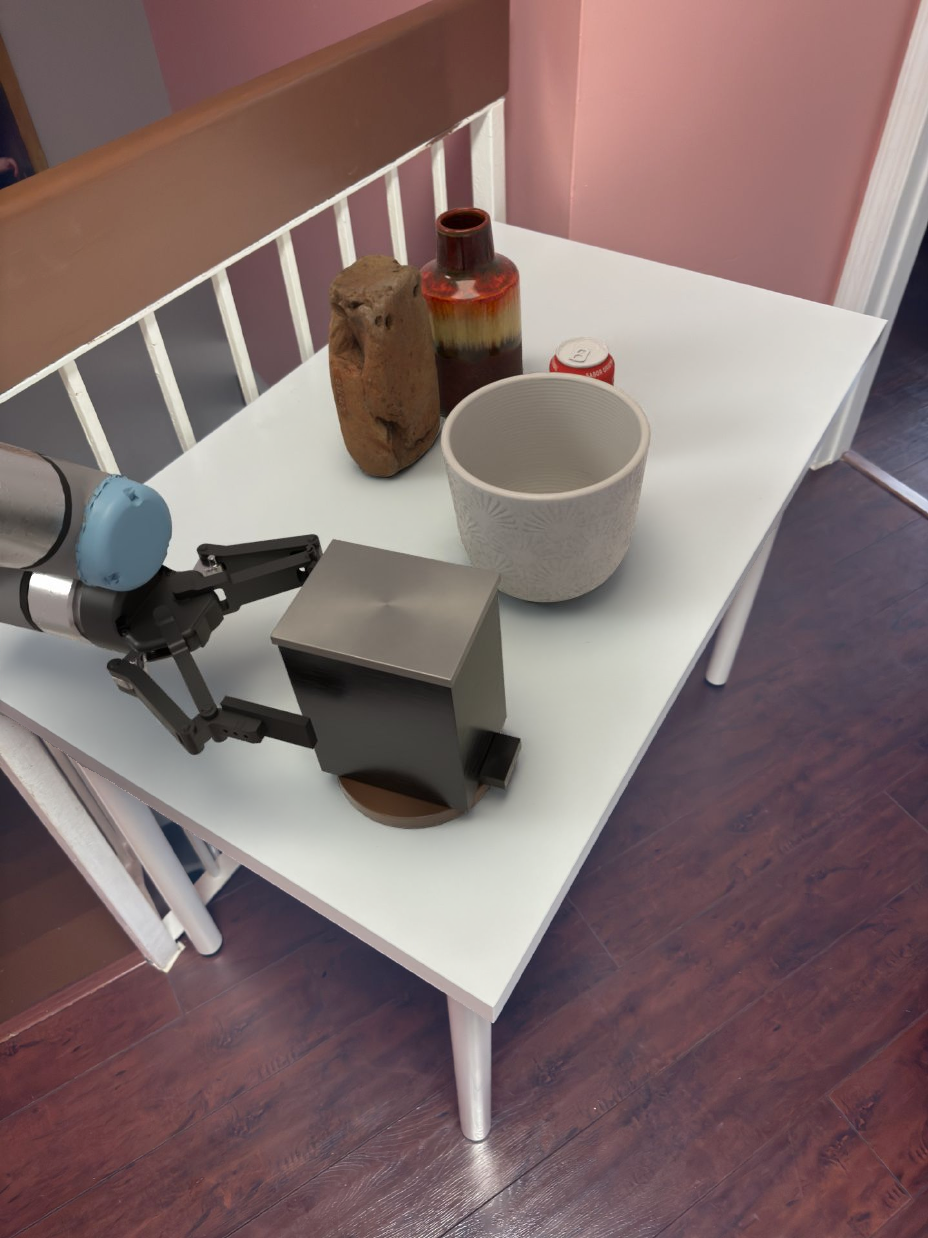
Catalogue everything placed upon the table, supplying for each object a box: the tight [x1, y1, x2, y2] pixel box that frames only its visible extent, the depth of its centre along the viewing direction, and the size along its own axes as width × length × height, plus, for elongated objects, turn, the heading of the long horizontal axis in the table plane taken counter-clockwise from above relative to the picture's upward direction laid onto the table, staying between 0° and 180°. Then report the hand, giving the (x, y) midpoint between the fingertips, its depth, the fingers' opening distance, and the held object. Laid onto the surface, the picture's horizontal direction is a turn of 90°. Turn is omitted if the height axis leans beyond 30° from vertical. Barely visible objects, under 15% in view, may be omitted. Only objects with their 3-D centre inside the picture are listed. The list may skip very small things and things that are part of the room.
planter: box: [440, 371, 651, 603], centre depth 80 cm, size 17×17×15 cm
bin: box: [269, 538, 522, 814], centre depth 65 cm, size 9×14×16 cm, turn 70°
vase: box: [419, 206, 524, 419], centre depth 97 cm, size 11×11×20 cm
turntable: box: [336, 775, 491, 829], centre depth 71 cm, size 13×13×2 cm
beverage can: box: [548, 336, 616, 387], centre depth 91 cm, size 6×6×12 cm
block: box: [327, 253, 441, 478], centre depth 91 cm, size 11×8×20 cm
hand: (353, 658), depth 65 cm, fingers open, 13 cm apart
